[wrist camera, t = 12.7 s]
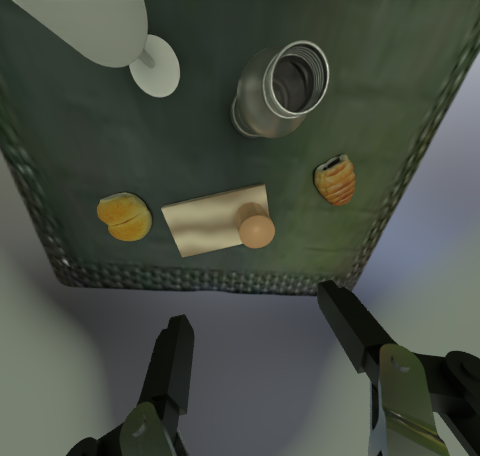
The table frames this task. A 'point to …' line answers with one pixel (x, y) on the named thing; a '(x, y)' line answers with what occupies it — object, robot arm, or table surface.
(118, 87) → the table surface
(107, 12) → the champagne flute
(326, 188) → the pastry
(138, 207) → the bread roll
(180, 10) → the table surface
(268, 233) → the cap
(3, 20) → the table surface
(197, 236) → the board
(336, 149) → the table surface
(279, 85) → the plastic bottle
